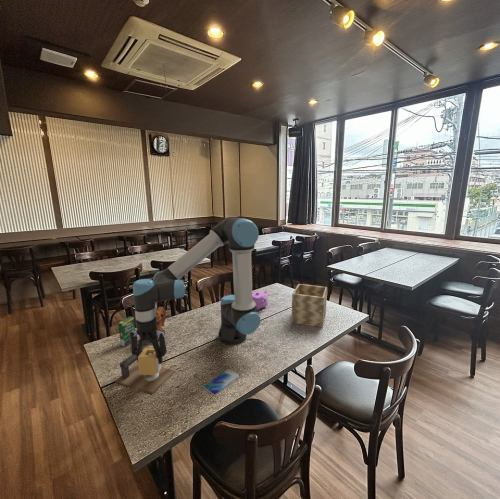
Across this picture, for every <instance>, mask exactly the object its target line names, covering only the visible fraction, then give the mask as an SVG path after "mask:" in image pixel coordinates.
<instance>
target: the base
mask: <svg viewBox="0 0 500 499" xmlns="http://www.w3.org/2000/svg"><path fill="white" fill-rule="evenodd" d="M147 355H152V354H151V353H148V354H147ZM135 362H137V356H136V355H135V354H134V355H132V354H131V355H130V356H128V357H127V358H125V359H124V360H122V361H121V362H120V363H119V368H120V371H121V372H120V373H121V375H120V376H119V377H118V378H116V379H115V380H114V382H115V383H117V384H120V385H123V386H126V387H129V388H133V389H135V390H139V391H141V392H145V393H148V394H151V395H153V394H155V392H156V391H157V390H159V389H160V387H161V386H163V385H164V384H165V382H166V381H168V380H169V378H171V377H172V375H174V373H176V371H175V369H171V368H168V367H164V366H161V369H160V371H159V372H157V373H156V375H155V376H154V375H140V374H139V364H138V362H137V363H135ZM134 363H135V364H134ZM133 364H134V365H133ZM131 365H133V366H131ZM130 366H131V368H130Z"/></svg>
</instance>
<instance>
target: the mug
mask: <svg viewBox="0 0 500 499" xmlns="http://www.w3.org/2000/svg"><path fill="white" fill-rule="evenodd" d="M155 317H156V321H157V329H158V331H160V332H162V331H164V332H165V333H166V331H165V330H164V328H163V327H164V326H165V322H166V310H165V308H164V306H159V307H158V308H157V309H156V316H155ZM156 337H157V341H159V338H158V335H157V334H156Z"/></svg>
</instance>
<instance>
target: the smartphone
mask: <svg viewBox="0 0 500 499" xmlns="http://www.w3.org/2000/svg"><path fill="white" fill-rule="evenodd" d="M239 378H241V374H239V373H238V372H236V371H234V370H233V369H231V368H227V369H226V370H224V371H223V372H222V373H220V374H219V375H217V376H216V377H214V378H213V379H211V380H210V381H209V382H207V383H206V384H205V385H203V389H204V390H205V391H207V392H208V393H210V394H211V395H212V396H218V394H220V393H221V392H222V391H224V390H225V389H226V388H228V387H229V386H230V385H232V384H233V383H234V382H236V381H237V380H238V379H239Z"/></svg>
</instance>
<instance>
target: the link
mask: <svg viewBox="0 0 500 499" xmlns="http://www.w3.org/2000/svg"><path fill="white" fill-rule="evenodd" d="M148 353H151V354H152V355H147V354H148ZM156 357H157V354H156V352H155V350H154V348H153V347H144V349H142V352H141V354H140V355H139V356H138V362H137V363H138V364H139V374H140V375H154V376H155V375H156V373H157V367H156ZM162 357H164V356H162ZM162 363H163V362H162ZM162 363H161V367H163V366H162Z"/></svg>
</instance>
